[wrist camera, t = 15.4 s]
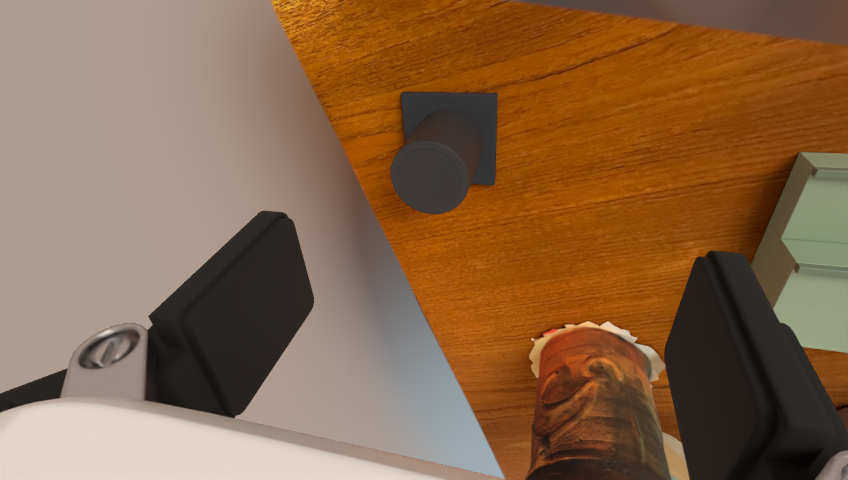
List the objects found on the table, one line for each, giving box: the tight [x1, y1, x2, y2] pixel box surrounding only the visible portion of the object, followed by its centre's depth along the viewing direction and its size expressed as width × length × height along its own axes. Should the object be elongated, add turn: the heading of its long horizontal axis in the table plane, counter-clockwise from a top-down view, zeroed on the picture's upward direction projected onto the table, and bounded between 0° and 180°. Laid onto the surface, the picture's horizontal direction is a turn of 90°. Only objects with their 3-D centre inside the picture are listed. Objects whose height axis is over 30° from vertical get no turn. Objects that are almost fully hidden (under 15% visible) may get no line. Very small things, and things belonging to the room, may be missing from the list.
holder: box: [391, 109, 483, 214], centre depth 36 cm, size 6×6×7 cm
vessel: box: [525, 321, 671, 480], centre depth 42 cm, size 14×14×20 cm
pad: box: [401, 92, 497, 185], centre depth 39 cm, size 8×8×1 cm
